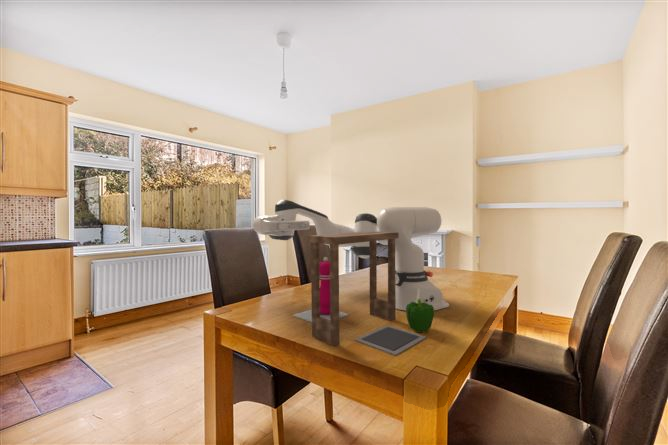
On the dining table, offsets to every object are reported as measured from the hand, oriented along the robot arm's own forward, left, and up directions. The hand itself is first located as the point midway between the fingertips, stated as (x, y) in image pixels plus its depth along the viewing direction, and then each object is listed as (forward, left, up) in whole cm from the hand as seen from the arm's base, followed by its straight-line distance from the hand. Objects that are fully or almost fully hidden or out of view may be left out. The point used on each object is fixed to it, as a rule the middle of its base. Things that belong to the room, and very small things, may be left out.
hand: (298, 226), depth 117 cm
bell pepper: (-30, +35, -32) cm, 56 cm away
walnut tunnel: (-12, +26, -32) cm, 43 cm away
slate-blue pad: (-5, +11, -32) cm, 34 cm away
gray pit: (-18, +38, -32) cm, 53 cm away
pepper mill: (-7, +10, -31) cm, 34 cm away
